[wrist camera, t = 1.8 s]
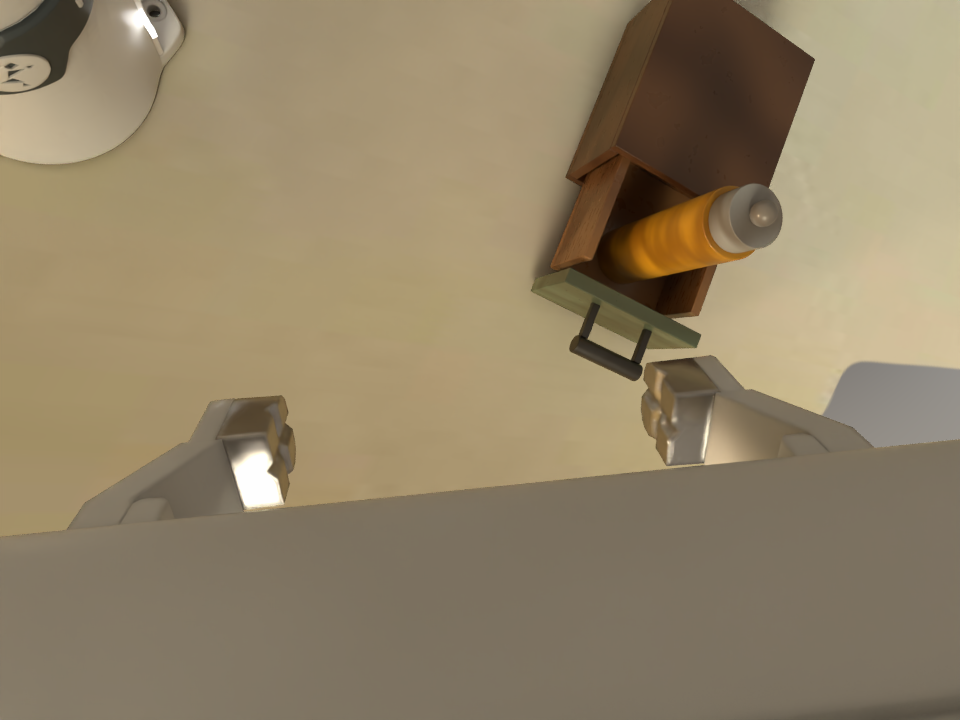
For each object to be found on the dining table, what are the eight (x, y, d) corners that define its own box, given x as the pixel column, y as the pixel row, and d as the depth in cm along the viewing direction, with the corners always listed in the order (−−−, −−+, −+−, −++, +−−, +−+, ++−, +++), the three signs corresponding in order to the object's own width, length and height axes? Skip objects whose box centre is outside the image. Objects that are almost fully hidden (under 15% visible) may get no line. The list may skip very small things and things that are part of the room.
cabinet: (688, 246, 58) (754, 228, 49) (565, 177, 54) (615, 145, 46) (742, 100, 59) (815, 58, 51) (627, 23, 56) (686, -35, 48)
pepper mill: (589, 238, 52) (729, 183, 36) (635, 221, 54) (791, 159, 37) (608, 292, 53) (755, 262, 36) (653, 273, 54) (815, 236, 38)
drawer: (632, 393, 55) (678, 397, 48) (511, 337, 52) (544, 334, 45) (702, 204, 57) (756, 185, 51) (591, 139, 54) (633, 109, 47)
